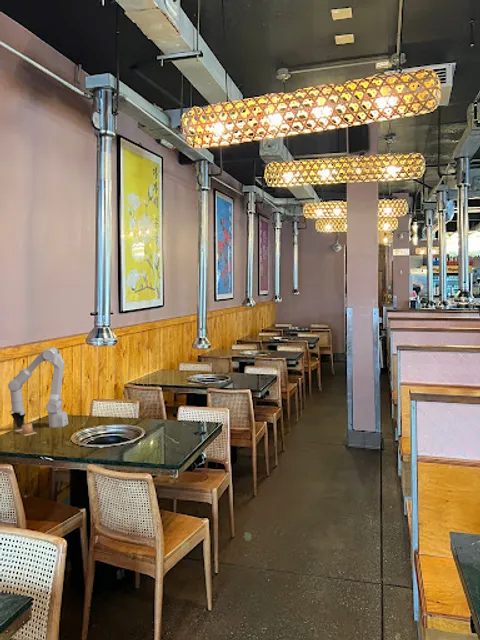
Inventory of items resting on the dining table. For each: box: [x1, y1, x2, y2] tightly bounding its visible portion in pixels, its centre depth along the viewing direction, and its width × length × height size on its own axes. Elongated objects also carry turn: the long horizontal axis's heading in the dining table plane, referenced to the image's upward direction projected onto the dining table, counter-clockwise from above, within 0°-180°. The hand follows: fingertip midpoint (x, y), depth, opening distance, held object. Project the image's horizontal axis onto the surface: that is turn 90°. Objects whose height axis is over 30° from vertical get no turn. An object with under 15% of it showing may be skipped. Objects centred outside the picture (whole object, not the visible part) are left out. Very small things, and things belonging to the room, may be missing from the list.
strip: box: [12, 419, 37, 437], centre depth 260 cm, size 20×6×6 cm, turn 42°
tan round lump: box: [22, 422, 34, 434], centre depth 256 cm, size 5×5×4 cm
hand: (19, 426), depth 266 cm, fingers closed on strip, 2 cm apart
